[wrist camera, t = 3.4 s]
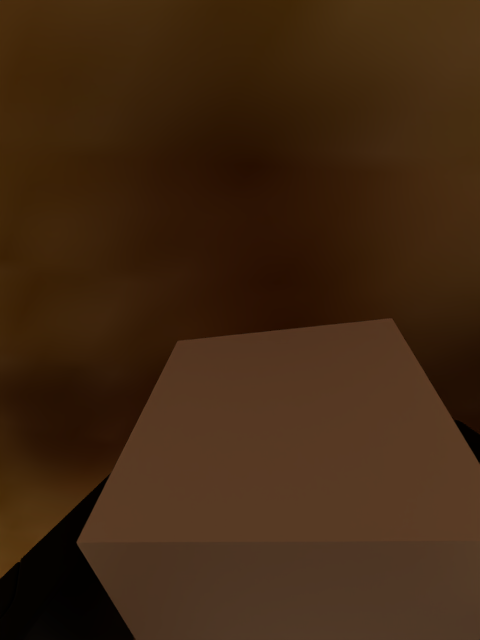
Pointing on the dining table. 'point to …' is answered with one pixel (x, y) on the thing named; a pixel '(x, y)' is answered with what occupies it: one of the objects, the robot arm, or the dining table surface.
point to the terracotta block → (292, 496)
